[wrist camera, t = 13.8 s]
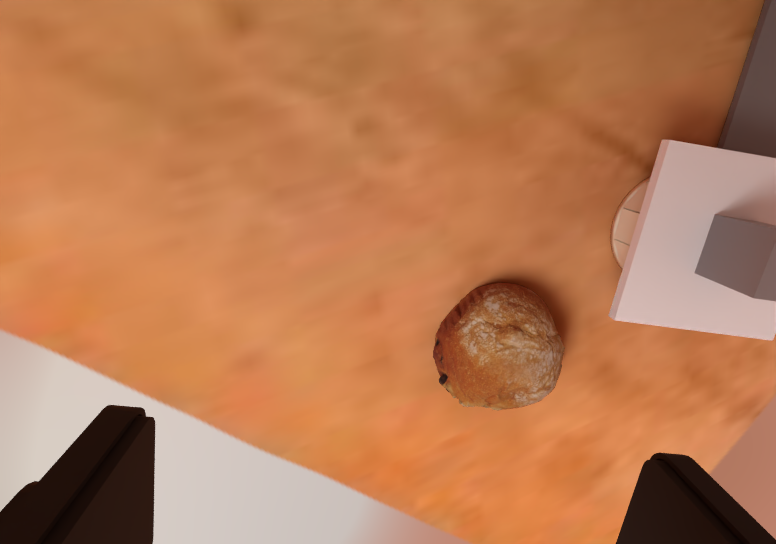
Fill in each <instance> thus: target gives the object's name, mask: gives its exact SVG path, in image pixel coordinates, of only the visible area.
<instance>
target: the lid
mask: <svg viewBox="0 0 776 544" xmlns="http://www.w3.org/2000/svg"><path fill="white" fill-rule="evenodd" d="M609 317H611V318H612V319H614V320H617V321H624V322H632V323H640V324H648V325H656V326H663V327H671V328H679V329H687V330H694V331H702V332H710V333H718V334H726V335H733V336H741V337H749V338H757V339H764V340H772V341H773V339H774V336H775V334H776V158H771V157H765V156H760V155H754V154H748V153H743V152H737V151H731V150H725V149H720V148H714V147H708V146H703V145H697V144H691V143H685V142H680V141H674V140H662V141H661V145H660V148H659V151H658V155H657V158H656V161H655V165H654V168H653V171H652V174H651V178H650V181H649V184H648V188H647V191H646V194H645V197H644V201H643V204H642V207H641V211H640V214H639V217H638V221H637V224H636V227H635V230H634V234H633V237H632V240H631V244H630V247H629V250H628V254H627V257H626V260H625V263H624V267H623V270H622V273H621V277H620V280H619V283H618V286H617V290H616V293H615V296H614V300H613V303H612V306H611V310H610V313H609Z"/></svg>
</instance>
